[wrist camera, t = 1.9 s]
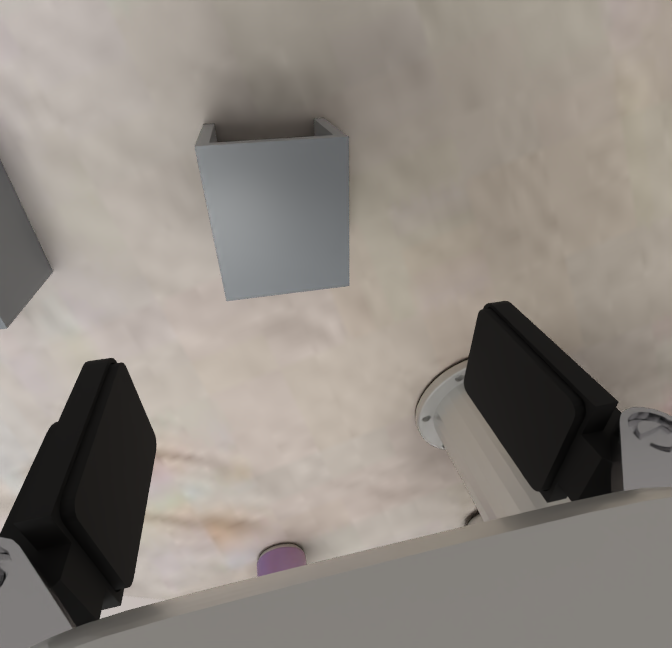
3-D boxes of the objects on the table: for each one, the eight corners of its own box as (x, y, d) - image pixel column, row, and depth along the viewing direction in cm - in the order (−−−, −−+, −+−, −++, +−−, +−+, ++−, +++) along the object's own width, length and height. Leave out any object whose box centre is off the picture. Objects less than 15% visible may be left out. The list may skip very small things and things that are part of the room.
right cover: (323, 117, 24) (348, 136, 19) (328, 242, 29) (349, 285, 23) (203, 124, 23) (194, 146, 18) (227, 253, 28) (226, 301, 22)
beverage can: (251, 549, 49) (257, 716, 37) (299, 536, 49) (321, 695, 37) (262, 572, 52) (271, 730, 40) (307, 559, 53) (330, 711, 41)
